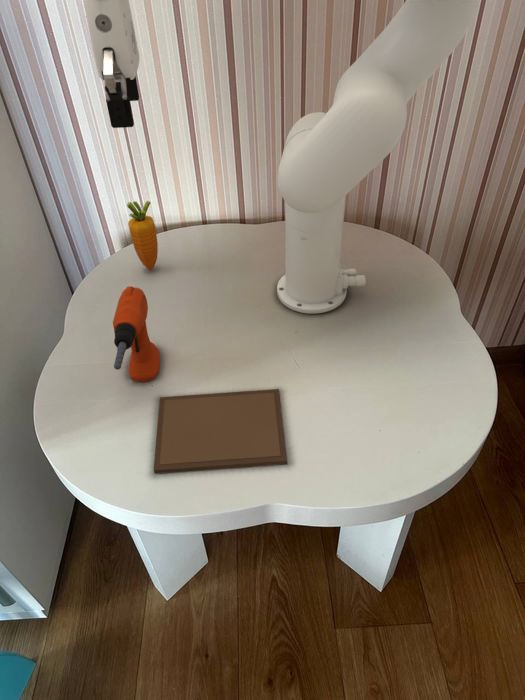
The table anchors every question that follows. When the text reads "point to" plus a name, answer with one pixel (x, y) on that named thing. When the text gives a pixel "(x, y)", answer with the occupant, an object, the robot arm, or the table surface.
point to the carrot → (143, 234)
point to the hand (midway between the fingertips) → (126, 113)
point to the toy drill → (135, 336)
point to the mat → (219, 431)
